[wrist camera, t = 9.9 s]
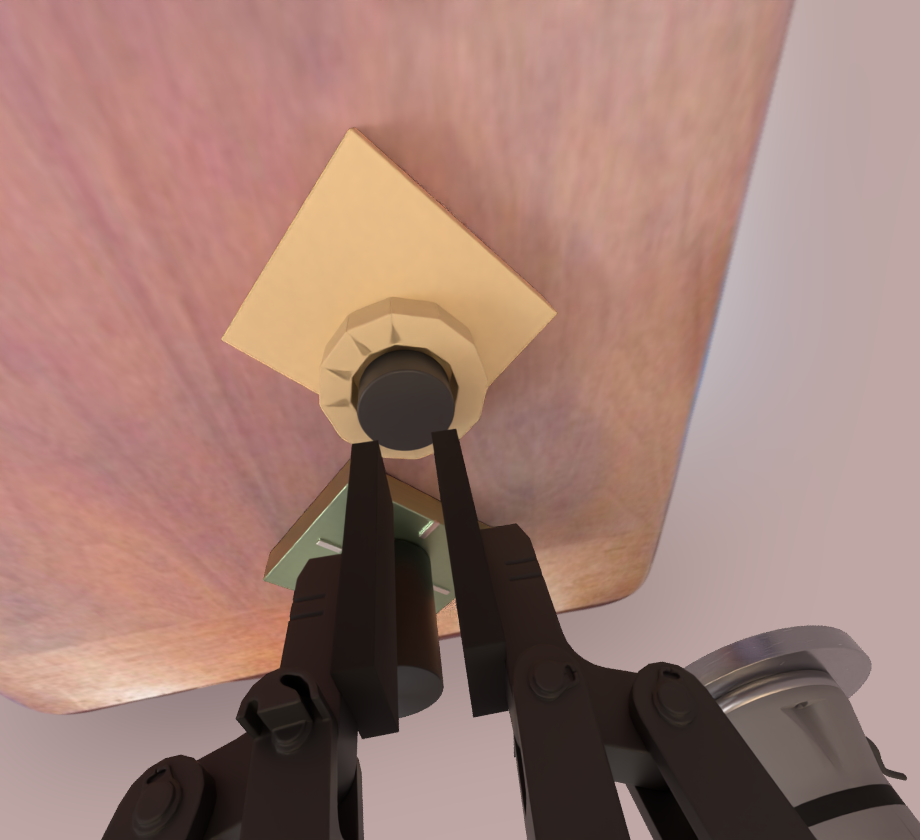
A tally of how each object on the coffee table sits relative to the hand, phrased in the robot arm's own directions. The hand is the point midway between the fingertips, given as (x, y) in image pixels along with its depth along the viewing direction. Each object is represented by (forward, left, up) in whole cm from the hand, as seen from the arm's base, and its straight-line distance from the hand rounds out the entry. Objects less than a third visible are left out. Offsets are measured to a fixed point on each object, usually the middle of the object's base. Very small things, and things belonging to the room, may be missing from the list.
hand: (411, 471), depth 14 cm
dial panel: (-7, +11, -9) cm, 16 cm away
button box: (+2, -2, -9) cm, 9 cm away
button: (0, 0, -5) cm, 5 cm away
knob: (-7, +11, -7) cm, 15 cm away
